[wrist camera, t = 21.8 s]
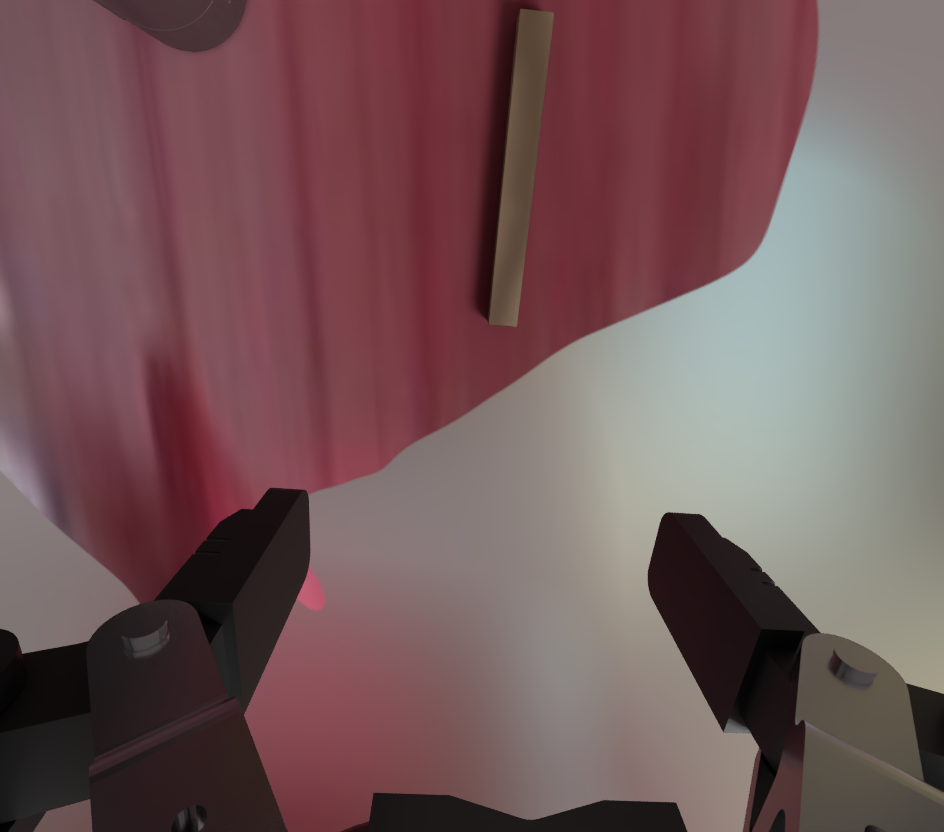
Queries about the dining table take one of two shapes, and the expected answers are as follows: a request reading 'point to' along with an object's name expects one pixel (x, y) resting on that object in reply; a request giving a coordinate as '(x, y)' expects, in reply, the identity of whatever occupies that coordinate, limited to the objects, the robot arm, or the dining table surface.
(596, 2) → the dining table surface
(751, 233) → the dining table surface
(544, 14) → the walnut bar
